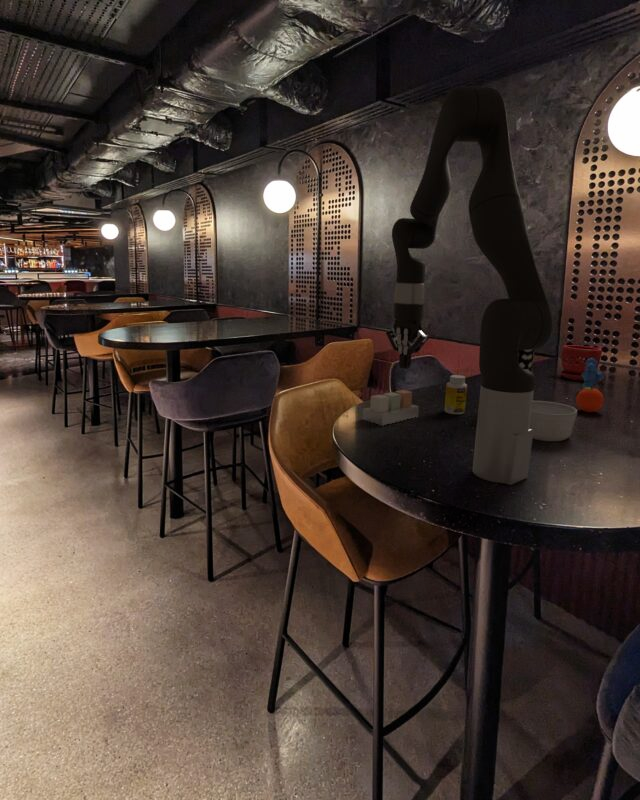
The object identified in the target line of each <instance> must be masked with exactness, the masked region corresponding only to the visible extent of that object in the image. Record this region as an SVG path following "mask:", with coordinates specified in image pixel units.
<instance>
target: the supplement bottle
mask: <svg viewBox="0 0 640 800" xmlns="http://www.w3.org/2000/svg"><path fill="white" fill-rule="evenodd" d="M465 381H466V377H465V376H464V375H461V374H460V375H459V374H452V375H450V376H449V382H447V383H446V386H445V387H446V388H445V398H444V409H443V410H444V412H445V413H447V414H450V415H463V414H464V413H465V412H466V411H465V410H466V403H467V392H468V384H467V383H466V382H465Z"/></svg>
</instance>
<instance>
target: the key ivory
mask: <svg viewBox="0 0 640 800" xmlns="http://www.w3.org/2000/svg"><path fill="white" fill-rule="evenodd" d="M388 400H389V397H387V396H383V394H376V395H371V396H370V406H369V407H370V410H371V411H374V412H377V413H382V412H386V411H388Z"/></svg>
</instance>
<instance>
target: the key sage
mask: <svg viewBox="0 0 640 800" xmlns="http://www.w3.org/2000/svg"><path fill="white" fill-rule="evenodd" d="M382 395H383V396H387V397H389V400H388V409H389V410H395V409H399V408H400V398H401V394H397V393H395V392H392V391H391V392H386V393H383V394H382Z"/></svg>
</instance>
